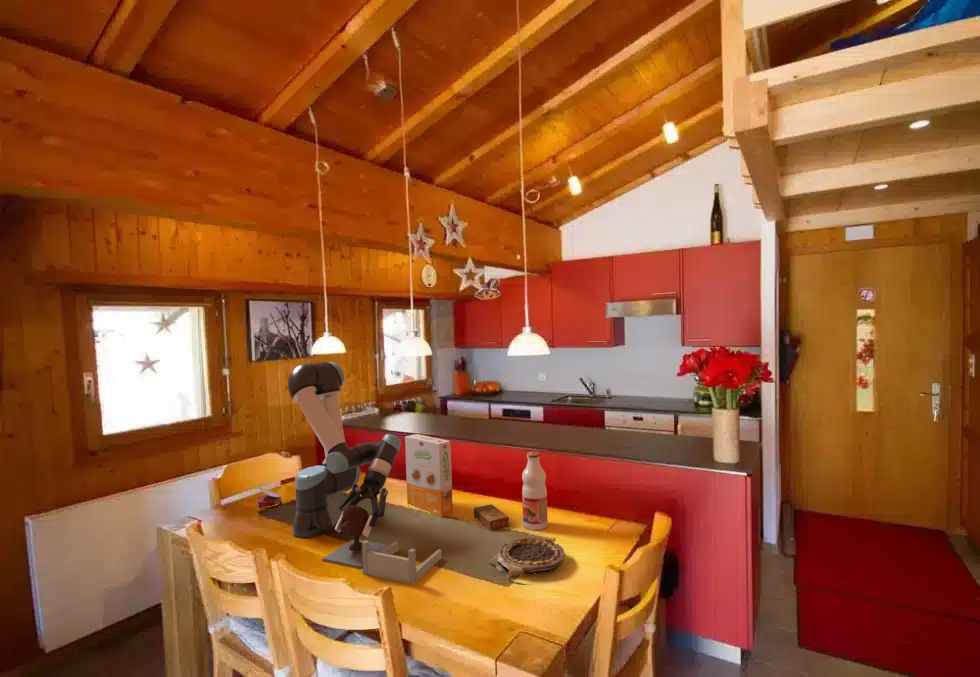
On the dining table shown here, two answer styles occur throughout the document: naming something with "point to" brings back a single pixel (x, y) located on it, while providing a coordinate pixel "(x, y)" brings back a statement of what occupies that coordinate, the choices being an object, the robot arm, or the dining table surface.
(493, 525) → the carton
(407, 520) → the dining table surface
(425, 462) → the cereal box
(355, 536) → the ice cream bowl
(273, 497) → the canned food
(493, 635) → the dining table surface
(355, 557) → the slate mat
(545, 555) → the pie
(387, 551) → the open crate
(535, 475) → the fruit juice
